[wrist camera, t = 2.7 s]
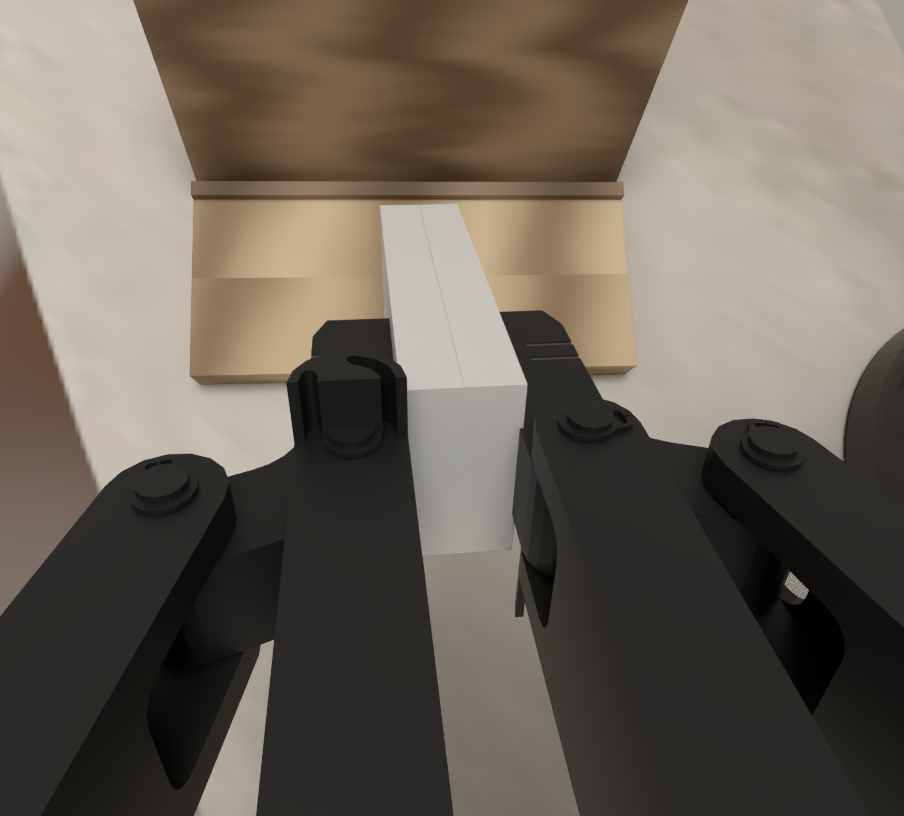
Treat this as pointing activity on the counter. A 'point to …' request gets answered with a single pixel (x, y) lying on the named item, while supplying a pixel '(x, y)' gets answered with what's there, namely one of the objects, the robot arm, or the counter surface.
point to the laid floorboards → (360, 265)
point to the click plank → (409, 86)
